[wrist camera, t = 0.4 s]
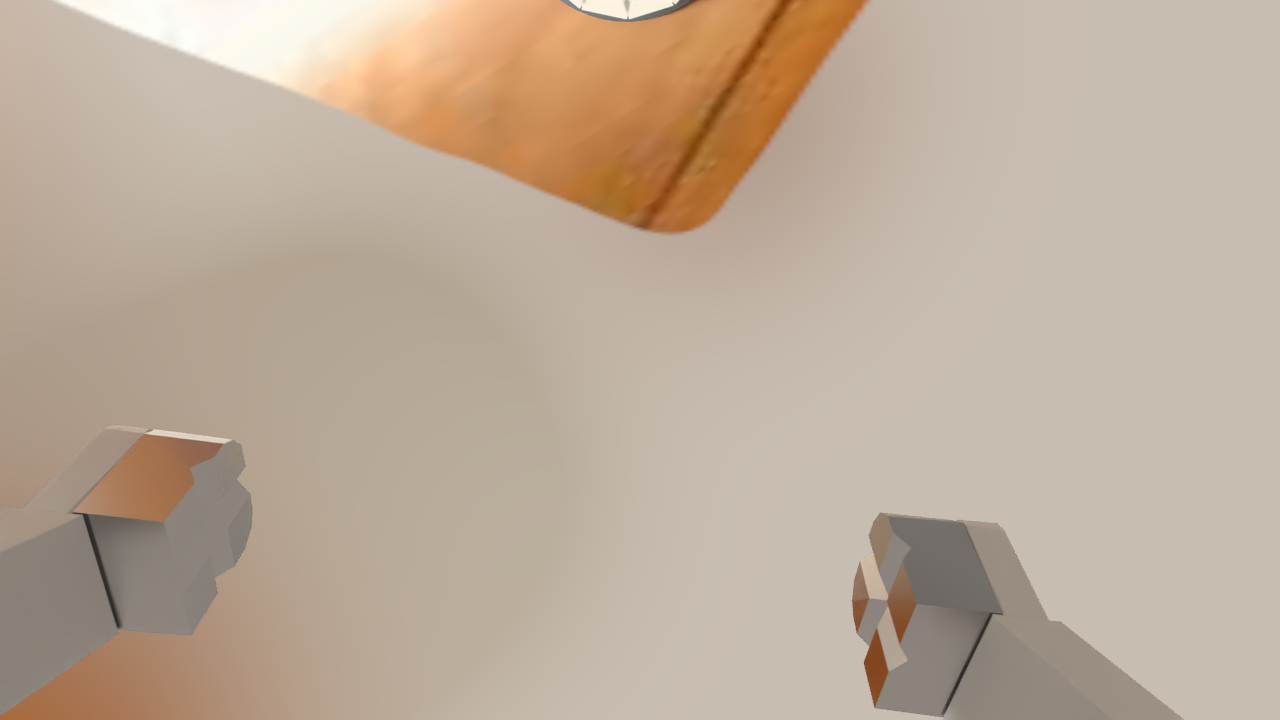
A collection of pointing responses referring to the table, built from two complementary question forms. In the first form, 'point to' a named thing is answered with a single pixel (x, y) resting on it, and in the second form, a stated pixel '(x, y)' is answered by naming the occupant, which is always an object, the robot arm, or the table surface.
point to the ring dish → (644, 17)
